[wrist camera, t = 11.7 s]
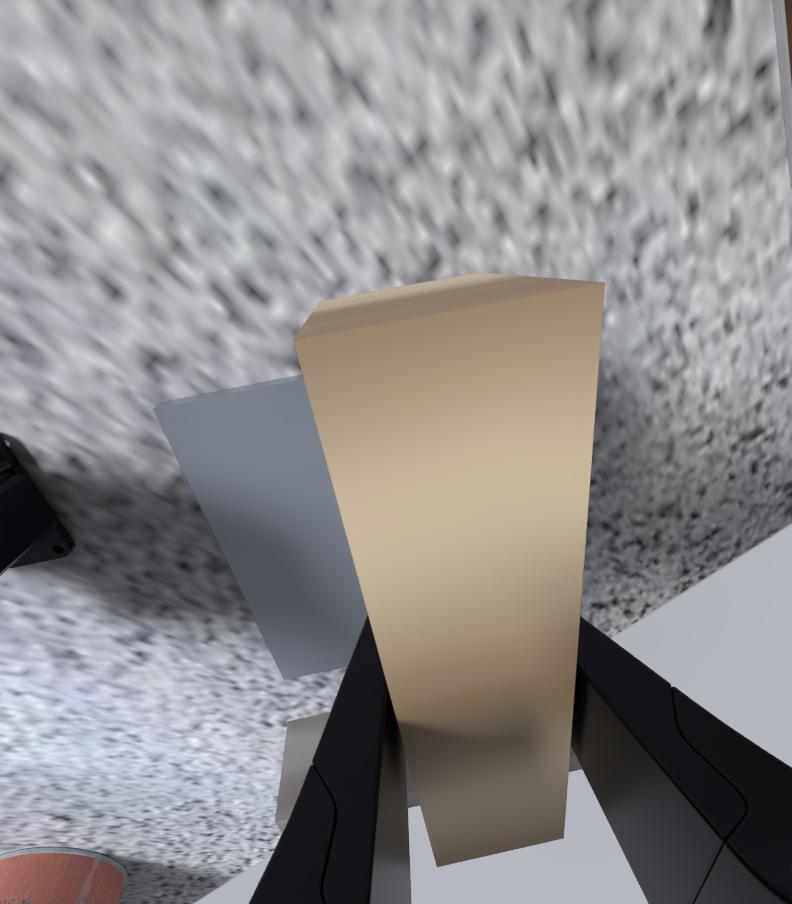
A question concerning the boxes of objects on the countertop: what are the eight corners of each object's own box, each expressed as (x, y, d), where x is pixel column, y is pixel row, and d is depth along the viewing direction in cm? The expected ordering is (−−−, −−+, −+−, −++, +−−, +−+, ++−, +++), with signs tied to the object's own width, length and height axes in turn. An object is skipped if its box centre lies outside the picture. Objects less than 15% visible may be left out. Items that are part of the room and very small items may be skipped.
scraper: (101, 340, 7) (-148, 421, 4) (684, 234, 7) (996, 210, 4) (295, 735, 13) (274, 918, 9) (619, 665, 13) (720, 816, 10)
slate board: (285, 667, 25) (284, 680, 24) (161, 402, 17) (152, 408, 16) (562, 609, 25) (568, 619, 24) (571, 321, 17) (580, 323, 16)
